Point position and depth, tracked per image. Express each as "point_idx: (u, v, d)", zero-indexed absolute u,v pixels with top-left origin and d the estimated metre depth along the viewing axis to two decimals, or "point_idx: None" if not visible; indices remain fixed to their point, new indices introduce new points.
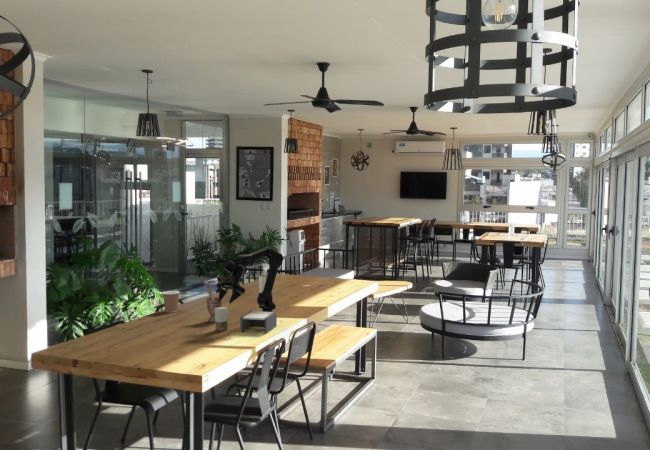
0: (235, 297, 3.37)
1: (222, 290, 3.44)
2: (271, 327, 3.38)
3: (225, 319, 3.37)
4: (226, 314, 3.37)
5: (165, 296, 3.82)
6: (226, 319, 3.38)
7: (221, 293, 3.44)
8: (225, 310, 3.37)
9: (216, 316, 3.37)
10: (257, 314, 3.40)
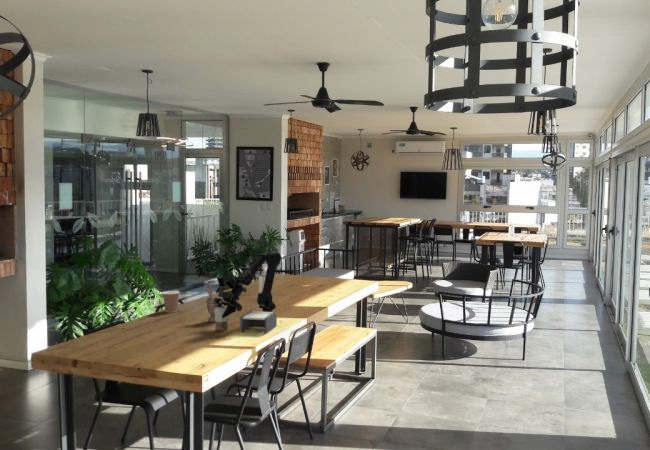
0: (229, 312, 3.37)
1: (221, 306, 3.42)
2: (271, 327, 3.38)
3: (225, 319, 3.37)
4: None
5: (165, 296, 3.82)
6: (226, 319, 3.38)
7: None
8: None
9: (216, 316, 3.37)
10: (257, 314, 3.40)
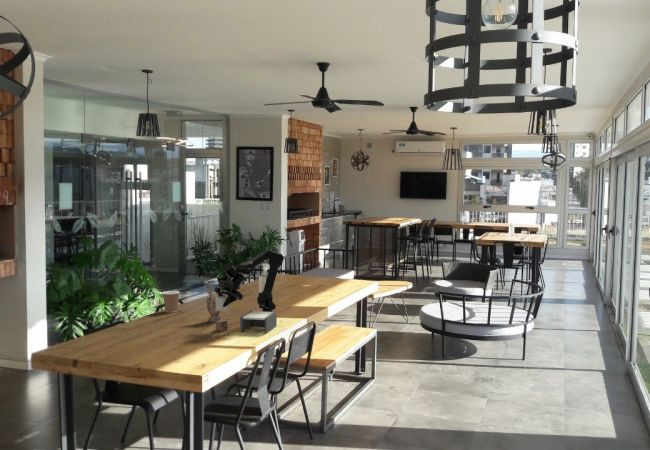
0: (229, 302, 3.36)
1: (221, 295, 3.41)
2: (271, 327, 3.38)
3: (226, 308, 3.36)
4: None
5: (165, 296, 3.82)
6: (227, 308, 3.37)
7: None
8: None
9: (217, 305, 3.36)
10: (257, 314, 3.40)
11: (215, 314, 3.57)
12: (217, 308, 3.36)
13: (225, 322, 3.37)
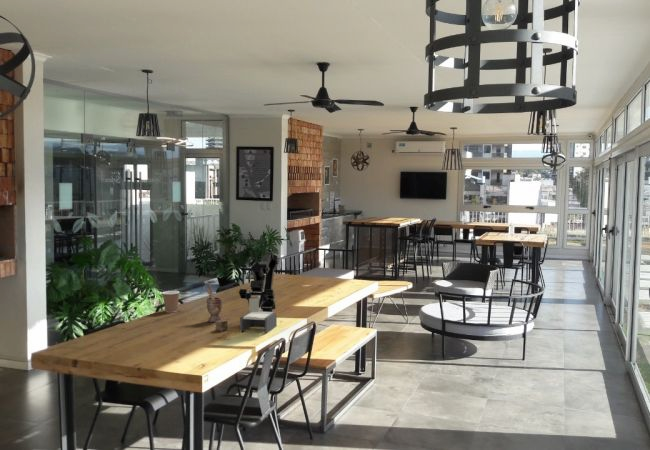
0: (263, 301, 3.35)
1: (250, 296, 3.37)
2: (271, 327, 3.38)
3: (259, 308, 3.35)
4: None
5: (165, 296, 3.82)
6: (260, 308, 3.35)
7: None
8: (259, 299, 3.34)
9: (251, 307, 3.32)
10: (257, 314, 3.40)
11: (215, 314, 3.57)
12: (252, 309, 3.32)
13: (225, 322, 3.37)
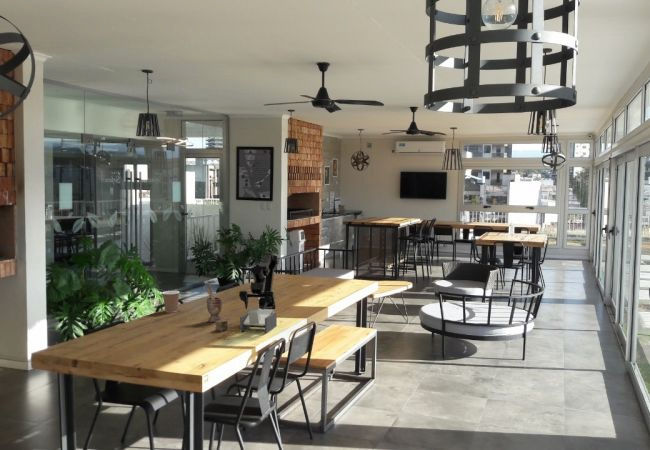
0: (266, 304, 3.35)
1: (246, 298, 3.37)
2: (271, 327, 3.38)
3: (260, 318, 3.35)
4: (259, 313, 3.34)
5: (165, 296, 3.82)
6: (260, 318, 3.35)
7: (246, 301, 3.36)
8: (258, 310, 3.33)
9: (251, 319, 3.32)
10: None
11: (215, 314, 3.57)
12: (252, 321, 3.32)
13: (225, 322, 3.37)
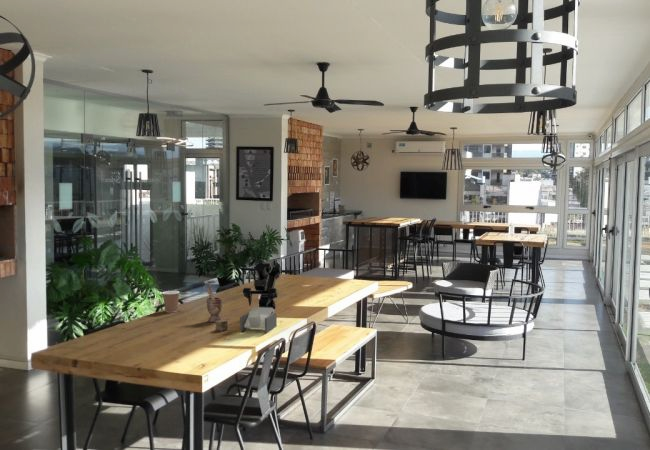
0: (269, 300, 3.43)
1: (250, 295, 3.44)
2: (271, 327, 3.38)
3: (260, 321, 3.35)
4: (259, 316, 3.34)
5: (165, 296, 3.82)
6: (260, 320, 3.36)
7: (250, 298, 3.43)
8: (258, 314, 3.33)
9: (251, 323, 3.32)
10: None
11: (215, 314, 3.57)
12: (252, 325, 3.33)
13: (225, 322, 3.37)
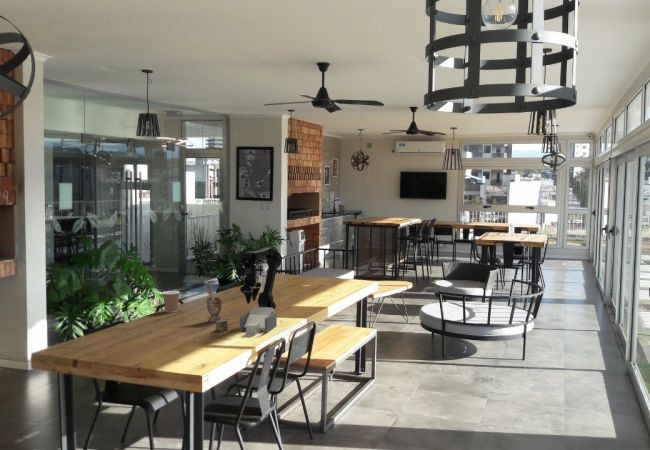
0: (249, 296, 3.42)
1: (252, 289, 3.52)
2: (271, 327, 3.38)
3: (259, 326, 3.32)
4: (257, 326, 3.29)
5: (165, 296, 3.82)
6: (259, 325, 3.32)
7: (252, 293, 3.52)
8: (255, 328, 3.27)
9: None
10: (257, 316, 3.40)
11: (215, 314, 3.57)
12: None
13: (225, 322, 3.37)
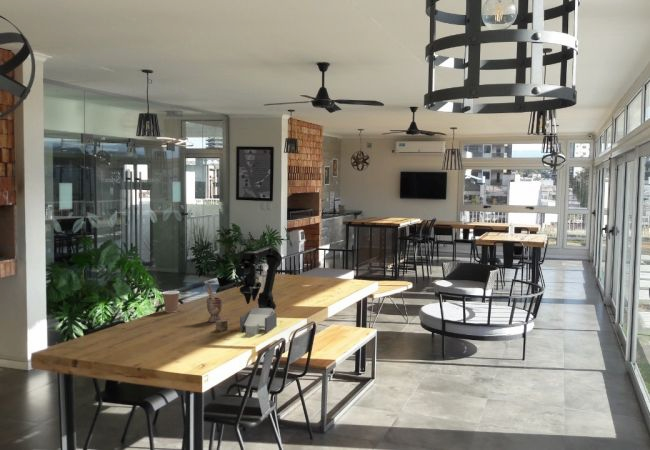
0: (248, 297, 3.42)
1: (252, 289, 3.52)
2: (271, 327, 3.38)
3: (258, 327, 3.32)
4: (256, 327, 3.29)
5: (165, 296, 3.82)
6: (258, 325, 3.32)
7: (252, 293, 3.52)
8: (255, 329, 3.27)
9: None
10: (257, 316, 3.40)
11: (215, 314, 3.57)
12: None
13: (225, 322, 3.37)
